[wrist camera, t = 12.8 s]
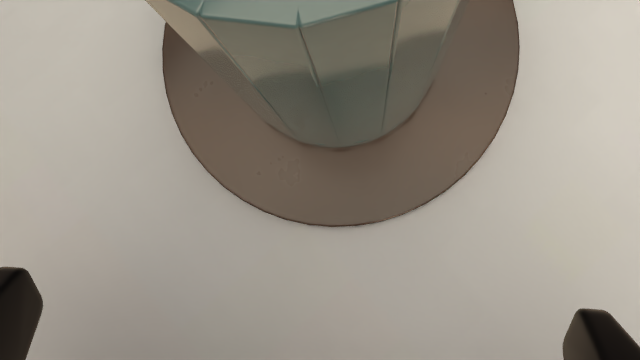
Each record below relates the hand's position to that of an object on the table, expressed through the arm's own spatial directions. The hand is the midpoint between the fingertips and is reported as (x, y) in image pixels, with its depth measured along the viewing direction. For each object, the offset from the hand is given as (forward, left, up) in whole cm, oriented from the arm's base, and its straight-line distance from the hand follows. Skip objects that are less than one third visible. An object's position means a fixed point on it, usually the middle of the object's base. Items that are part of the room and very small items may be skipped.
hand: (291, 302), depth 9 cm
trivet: (+6, -2, -8) cm, 11 cm away
